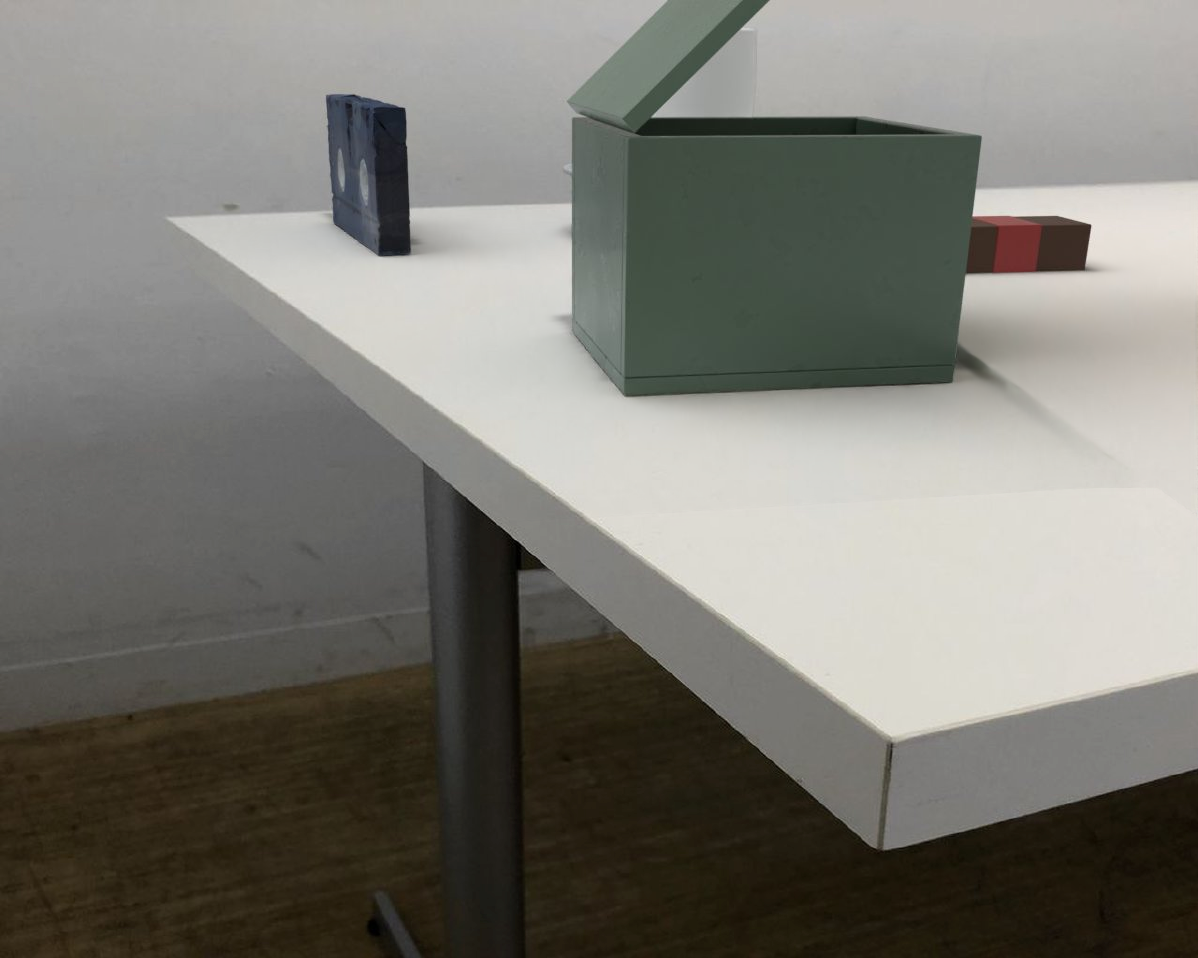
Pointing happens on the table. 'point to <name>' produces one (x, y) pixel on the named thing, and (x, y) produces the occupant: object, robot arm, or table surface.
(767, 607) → the table surface
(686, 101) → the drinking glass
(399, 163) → the vhs cassette tape
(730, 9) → the bin lid
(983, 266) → the chocolate bar
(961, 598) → the table surface
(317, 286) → the table surface
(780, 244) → the bin
